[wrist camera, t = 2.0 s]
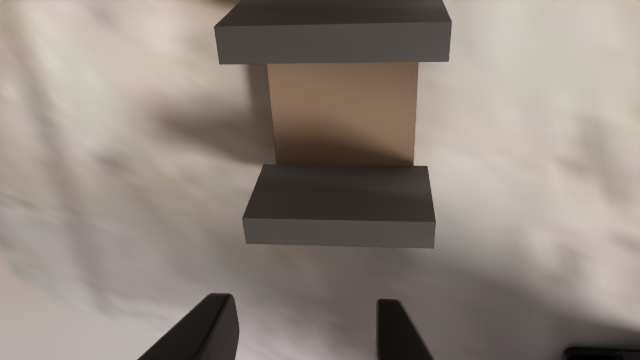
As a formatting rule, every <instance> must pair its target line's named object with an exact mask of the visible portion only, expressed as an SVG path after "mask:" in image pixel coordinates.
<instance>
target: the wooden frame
mask: <svg viewBox="0 0 640 360" xmlns="http://www.w3.org/2000/svg"><path fill="white" fill-rule="evenodd" d="M451 25H452V21H451V19H450V17H449V14H448V12H447V10H446V8H445V5H444V3H443V1H442V0H241V1H240V2H239V3H238V4H237V5H236V6H235V7H234V8H233V9H232V10H231V11H230V12H229V13H228V14H227V15H226V16H225V17H224V18H223V19H222V20H221V21H220V22H218V23H217V24H216V25H215V26H214V30H215V37H216V44H217V50H218V57H219V64H267V71H268V81H269V91H270V101H271V111H272V121H273V131H274V141H275V151H276V161H277V165H268V164H264V165H263V167H262V170H261V172H260V175H259V178H258V180H257V183H256V185H255V188H254V190H253V193H252V195H251V198H250V200H249V203H248V205H247V208H246V210H245V213H244V215H243V218H242V220H243V226H244V233H245V240H246V244H284V245H322V246H360V247H398V248H434V237H435V225H436V221H435V214H434V208H433V201H432V194H431V187H430V181H429V174H428V167H427V166H413V160H414V141H415V121H416V101H417V81H418V62H449V50H450V38H451Z"/></svg>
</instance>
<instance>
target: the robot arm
mask: <svg viewBox="0 0 640 360" xmlns="http://www.w3.org/2000/svg"><path fill="white" fill-rule="evenodd" d="M238 340H239V323H238V317H237V311H236V305H235V300H234V297H233V295H231V294H229V293H211V294H209V295H207V296H206V297H205V298H204V299H203V300H202V301H201V302H200V303H199V304H197V305H196V306H195V307H194V308H193V309H192V310H191V311H190V312H189V313H188V314H187V315H185V316H184V317H183V318H182V319H181V320H180V321H179V322H178V323H177V324H176V325H175V326H173V327H172V328H171V329H170V330H169V331H168V332H167V333H166V334H165V335H164V336H163V337H161V338H160V339H159V340H158V341H157V342H156V343H155V344H154V345H153V346H152V347H151V348H150V349H148V350H147V351H146V352H145V353H144V354H143V355H142V356H141V357H140V358H139V359H137V360H235V356H236V351H237V345H238ZM376 360H435V359H434V357H433V356H432V354H431V352H430V351H429V349H428V347H427V345H426V344H425V342H424V340H423V338H422V337H421V335H420V333H419V331H418V330H417V328H416V326H415V325H414V323H413V321H412V319H411V318H410V316H409V314H408V312H407V311H406V309H405V307H404V306H403V304H402V302H401V301H399V300H395V299H379V300H378V301H377V303H376ZM561 360H640V350H629V349H607V348H585V347H572V348H569V349H567V350H566V351H565V352H564V353H563V356H562V359H561Z"/></svg>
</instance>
